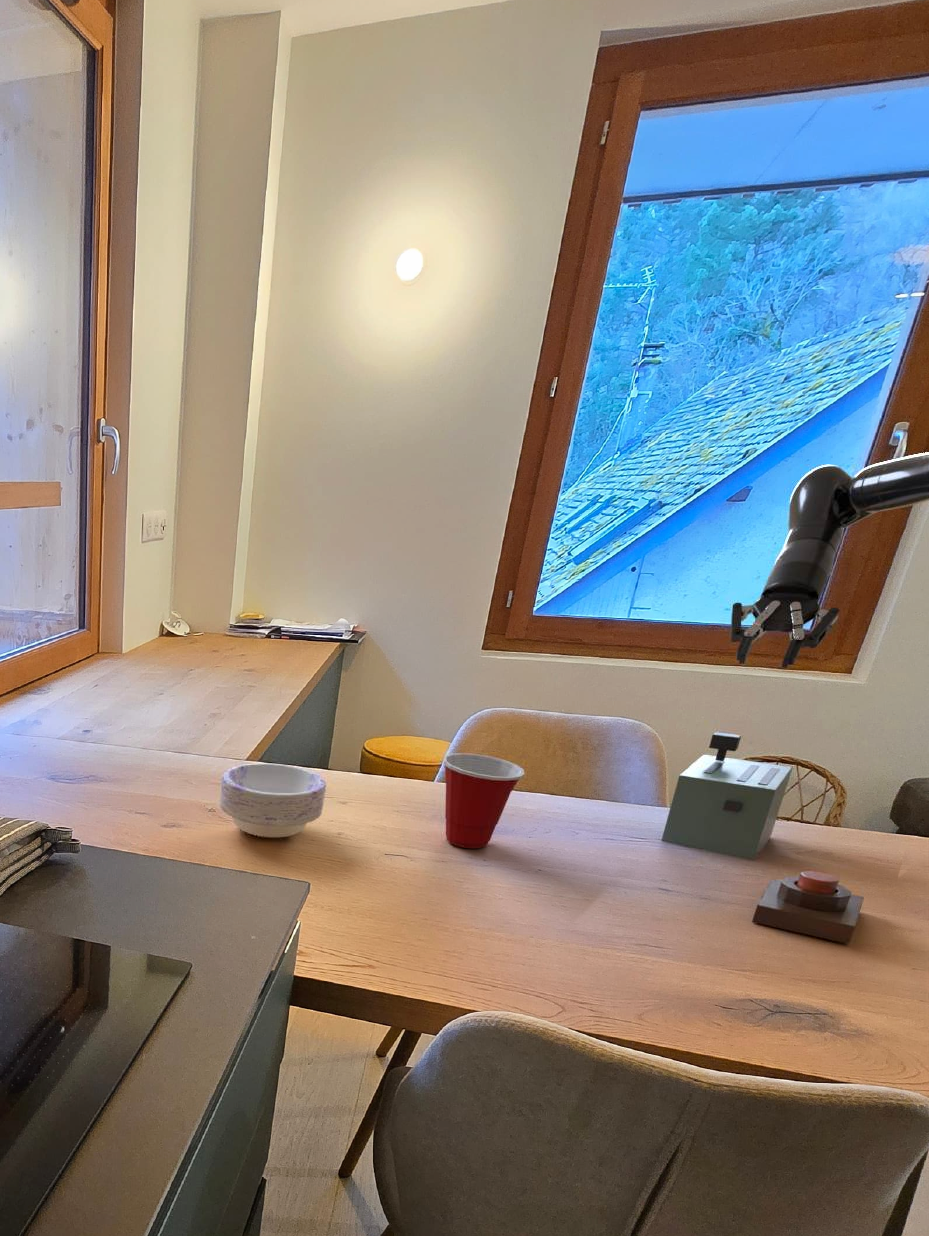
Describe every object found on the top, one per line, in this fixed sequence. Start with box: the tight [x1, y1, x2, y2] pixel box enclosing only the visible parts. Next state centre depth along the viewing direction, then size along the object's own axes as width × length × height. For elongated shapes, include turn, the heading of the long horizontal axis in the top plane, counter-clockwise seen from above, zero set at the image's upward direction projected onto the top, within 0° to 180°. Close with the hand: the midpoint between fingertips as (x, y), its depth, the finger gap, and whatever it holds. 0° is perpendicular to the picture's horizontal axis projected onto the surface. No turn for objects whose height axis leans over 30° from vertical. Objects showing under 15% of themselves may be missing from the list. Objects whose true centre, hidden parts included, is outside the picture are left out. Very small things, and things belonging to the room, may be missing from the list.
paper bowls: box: [219, 762, 327, 838], centre depth 139 cm, size 15×15×8 cm
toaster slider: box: [708, 731, 742, 761], centre depth 135 cm, size 2×3×4 cm
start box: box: [751, 876, 865, 945], centre depth 110 cm, size 12×9×4 cm
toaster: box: [660, 754, 793, 861], centre depth 133 cm, size 18×11×11 cm, turn 137°
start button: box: [796, 870, 840, 894], centre depth 109 cm, size 4×4×2 cm
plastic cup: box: [443, 752, 526, 849], centre depth 133 cm, size 11×11×12 cm
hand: (763, 662), depth 143 cm, fingers open, 5 cm apart
